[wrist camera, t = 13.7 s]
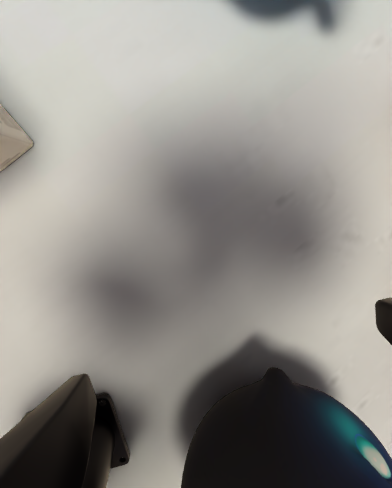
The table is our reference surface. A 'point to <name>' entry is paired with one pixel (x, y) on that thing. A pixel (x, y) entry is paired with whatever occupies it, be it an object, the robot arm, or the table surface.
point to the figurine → (284, 441)
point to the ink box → (11, 139)
